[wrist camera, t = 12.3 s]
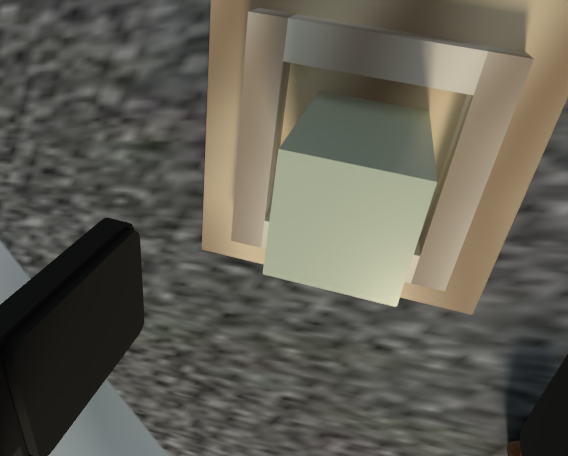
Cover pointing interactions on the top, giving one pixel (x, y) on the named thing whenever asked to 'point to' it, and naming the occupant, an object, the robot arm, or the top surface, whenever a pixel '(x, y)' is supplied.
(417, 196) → the pale green block
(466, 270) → the end holder
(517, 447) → the tin
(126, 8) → the top surface
